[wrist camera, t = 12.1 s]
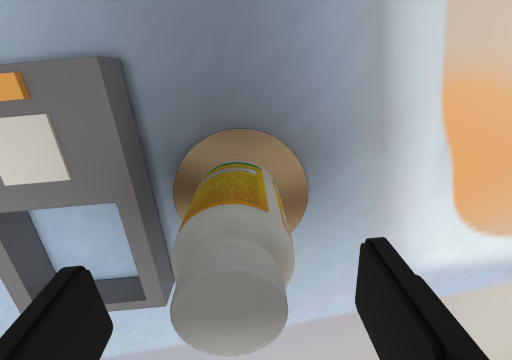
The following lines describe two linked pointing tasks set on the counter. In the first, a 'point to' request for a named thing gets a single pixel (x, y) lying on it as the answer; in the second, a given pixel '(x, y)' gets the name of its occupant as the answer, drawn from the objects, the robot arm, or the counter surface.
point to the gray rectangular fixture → (75, 173)
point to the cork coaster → (252, 150)
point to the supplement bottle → (232, 262)
